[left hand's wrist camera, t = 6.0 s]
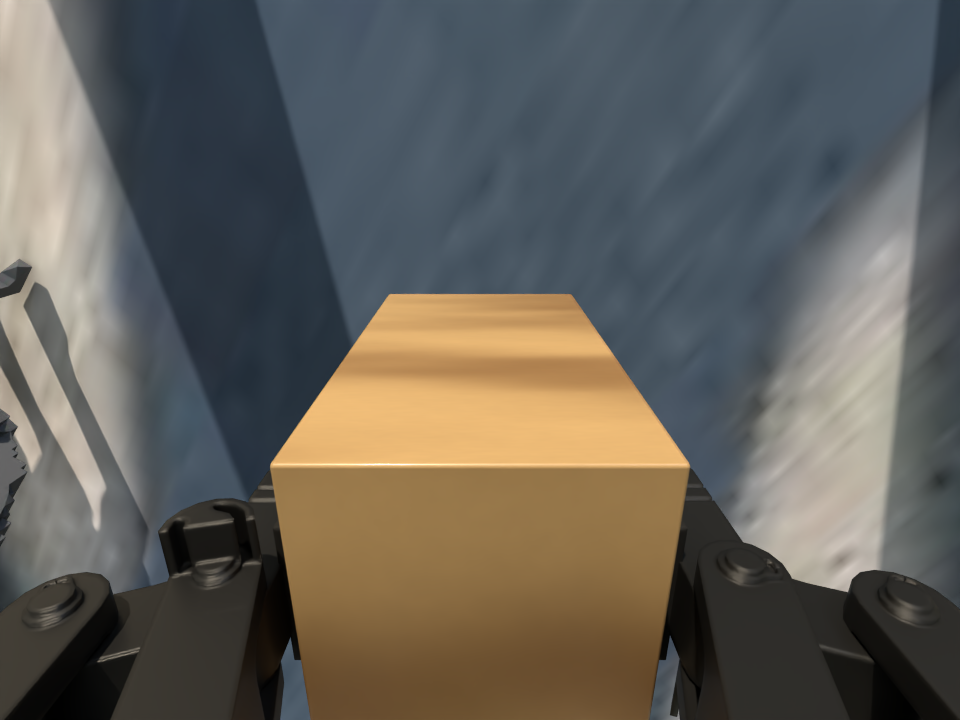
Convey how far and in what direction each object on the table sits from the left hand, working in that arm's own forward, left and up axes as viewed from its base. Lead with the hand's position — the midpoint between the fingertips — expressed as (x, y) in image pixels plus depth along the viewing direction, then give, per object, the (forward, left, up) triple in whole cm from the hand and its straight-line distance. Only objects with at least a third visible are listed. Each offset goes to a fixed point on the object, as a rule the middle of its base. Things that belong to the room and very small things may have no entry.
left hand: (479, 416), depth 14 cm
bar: (+7, +4, -1) cm, 8 cm away
